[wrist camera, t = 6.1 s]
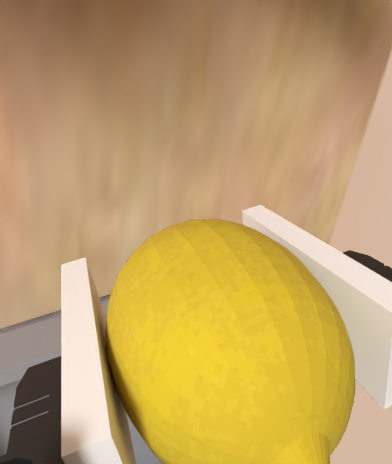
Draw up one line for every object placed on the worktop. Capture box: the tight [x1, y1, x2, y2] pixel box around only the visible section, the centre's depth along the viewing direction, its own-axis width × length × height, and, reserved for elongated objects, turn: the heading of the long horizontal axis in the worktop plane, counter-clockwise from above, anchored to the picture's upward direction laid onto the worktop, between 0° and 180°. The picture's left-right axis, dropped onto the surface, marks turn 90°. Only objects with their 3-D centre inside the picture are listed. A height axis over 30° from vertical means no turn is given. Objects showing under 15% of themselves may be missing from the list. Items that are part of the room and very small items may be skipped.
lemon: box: [106, 219, 355, 464], centre depth 9 cm, size 6×6×8 cm
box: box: [0, 294, 162, 464], centre depth 27 cm, size 20×20×4 cm
